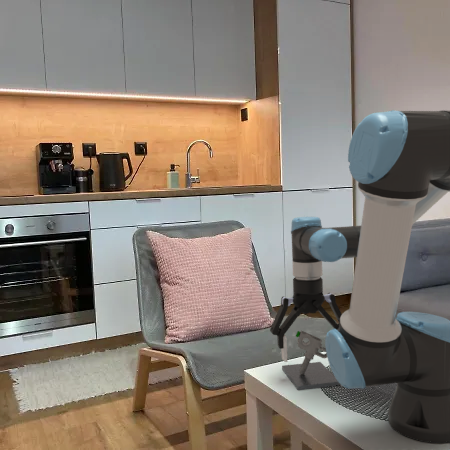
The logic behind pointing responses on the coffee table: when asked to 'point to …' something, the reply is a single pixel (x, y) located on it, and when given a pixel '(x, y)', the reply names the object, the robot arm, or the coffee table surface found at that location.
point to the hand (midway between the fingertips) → (309, 357)
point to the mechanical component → (309, 348)
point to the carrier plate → (310, 376)
